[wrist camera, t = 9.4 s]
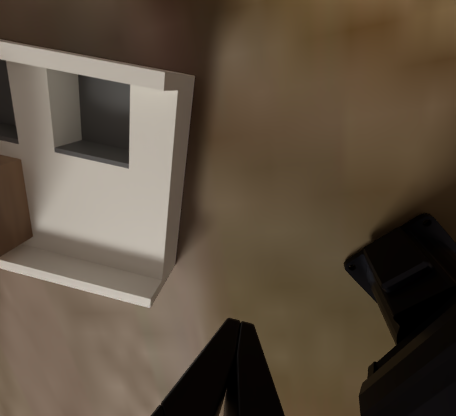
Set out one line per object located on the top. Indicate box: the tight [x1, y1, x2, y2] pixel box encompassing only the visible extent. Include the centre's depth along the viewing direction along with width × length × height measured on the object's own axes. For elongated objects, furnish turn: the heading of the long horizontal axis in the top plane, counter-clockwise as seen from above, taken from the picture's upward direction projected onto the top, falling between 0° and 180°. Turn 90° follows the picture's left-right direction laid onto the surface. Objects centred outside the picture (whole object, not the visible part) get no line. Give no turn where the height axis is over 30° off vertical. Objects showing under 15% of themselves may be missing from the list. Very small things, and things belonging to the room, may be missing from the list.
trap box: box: [0, 39, 195, 308], centre depth 19 cm, size 17×15×5 cm
